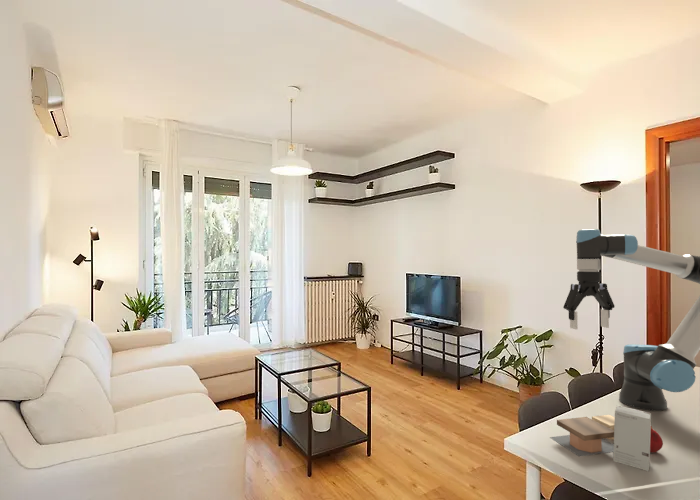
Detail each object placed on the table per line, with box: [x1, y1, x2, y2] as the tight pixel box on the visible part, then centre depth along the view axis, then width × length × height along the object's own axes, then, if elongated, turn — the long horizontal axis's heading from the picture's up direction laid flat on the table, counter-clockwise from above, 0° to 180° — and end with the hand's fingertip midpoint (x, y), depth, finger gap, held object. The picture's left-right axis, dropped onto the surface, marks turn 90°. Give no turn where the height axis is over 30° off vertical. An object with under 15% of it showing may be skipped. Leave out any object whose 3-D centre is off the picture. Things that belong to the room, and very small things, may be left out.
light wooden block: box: [591, 414, 615, 441], centre depth 126 cm, size 7×7×5 cm
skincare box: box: [612, 405, 652, 472], centre depth 109 cm, size 8×6×15 cm
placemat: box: [549, 434, 614, 457], centre depth 120 cm, size 16×12×1 cm
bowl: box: [569, 432, 602, 453], centre depth 118 cm, size 8×8×4 cm
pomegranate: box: [650, 425, 664, 454], centre depth 115 cm, size 6×6×8 cm
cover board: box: [556, 416, 614, 441], centre depth 119 cm, size 11×11×2 cm
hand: (589, 328), depth 144 cm, fingers open, 13 cm apart
